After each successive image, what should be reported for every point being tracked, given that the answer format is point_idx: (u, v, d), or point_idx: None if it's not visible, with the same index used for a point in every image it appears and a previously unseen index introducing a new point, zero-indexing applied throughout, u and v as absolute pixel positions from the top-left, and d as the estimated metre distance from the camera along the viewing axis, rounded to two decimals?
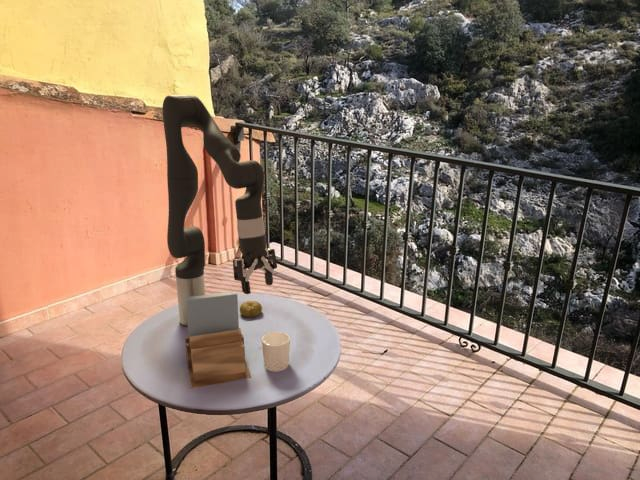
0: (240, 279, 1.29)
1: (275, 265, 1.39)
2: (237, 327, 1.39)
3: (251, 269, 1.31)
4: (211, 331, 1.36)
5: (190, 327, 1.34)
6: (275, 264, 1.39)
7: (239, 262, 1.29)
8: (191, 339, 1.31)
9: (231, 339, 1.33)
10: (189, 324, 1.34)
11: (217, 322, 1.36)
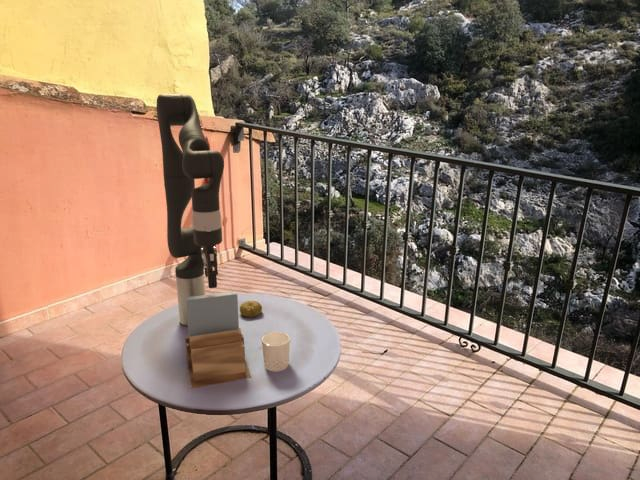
0: (217, 273, 1.26)
1: None
2: (237, 327, 1.39)
3: None
4: (211, 331, 1.36)
5: (190, 327, 1.34)
6: None
7: (216, 255, 1.25)
8: (191, 339, 1.31)
9: (231, 339, 1.33)
10: (189, 324, 1.34)
11: (217, 322, 1.36)
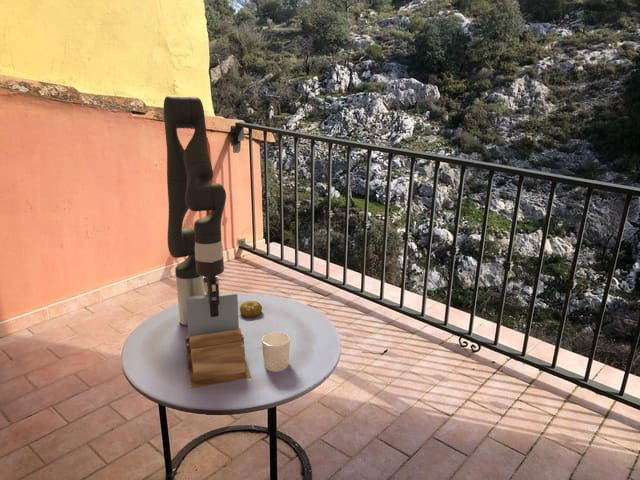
0: None
1: None
2: (237, 327, 1.39)
3: None
4: (211, 331, 1.36)
5: (190, 327, 1.34)
6: None
7: (218, 286, 1.27)
8: (191, 339, 1.31)
9: (231, 339, 1.33)
10: (189, 324, 1.34)
11: (217, 322, 1.36)
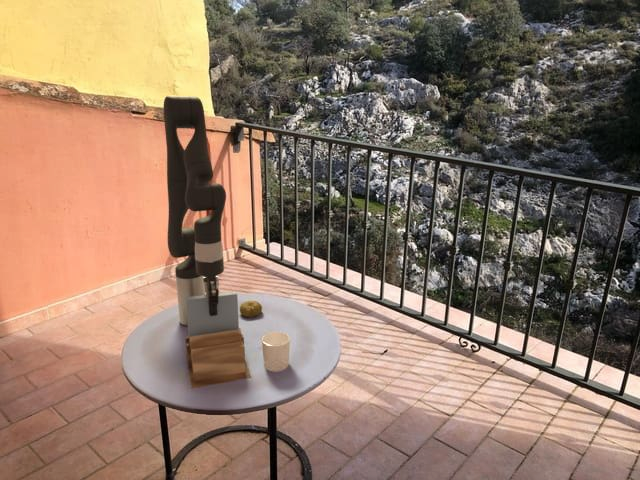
0: (217, 302, 1.32)
1: None
2: (237, 327, 1.39)
3: None
4: (211, 331, 1.37)
5: (190, 327, 1.34)
6: None
7: (218, 292, 1.28)
8: (191, 339, 1.31)
9: (231, 339, 1.33)
10: (189, 324, 1.34)
11: (217, 322, 1.36)
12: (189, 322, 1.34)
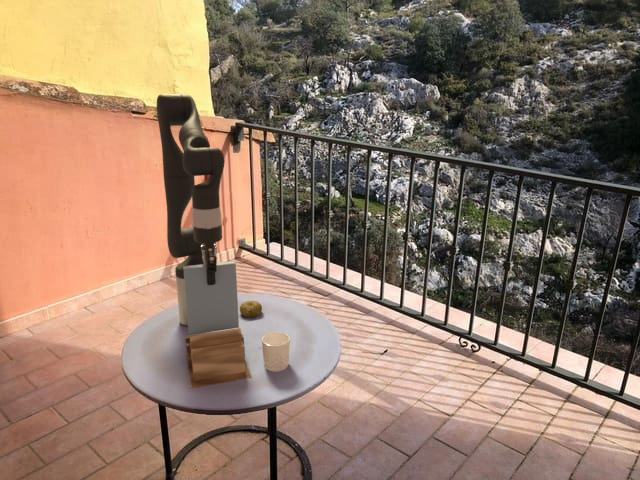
0: None
1: None
2: (236, 298, 1.36)
3: None
4: (209, 301, 1.34)
5: (188, 297, 1.31)
6: None
7: (216, 259, 1.25)
8: (191, 339, 1.31)
9: (231, 339, 1.33)
10: (186, 294, 1.31)
11: (215, 292, 1.34)
12: (187, 292, 1.31)
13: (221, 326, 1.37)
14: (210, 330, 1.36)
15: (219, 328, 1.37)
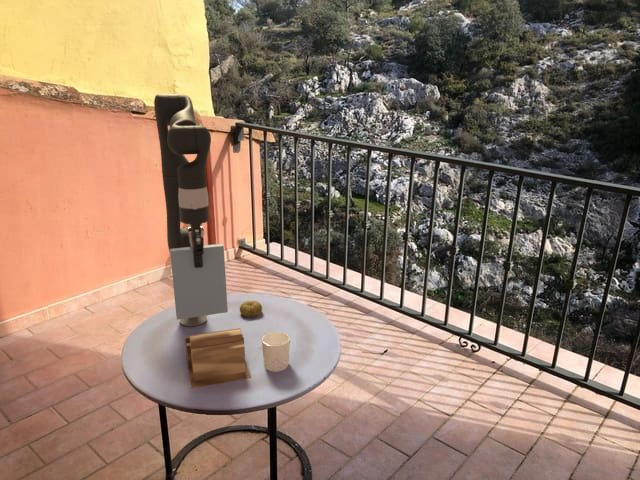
0: None
1: None
2: (224, 281, 1.33)
3: (203, 241, 1.27)
4: (197, 285, 1.31)
5: (175, 280, 1.29)
6: None
7: (203, 240, 1.23)
8: (191, 339, 1.31)
9: (231, 339, 1.33)
10: (173, 277, 1.28)
11: (203, 275, 1.31)
12: (173, 275, 1.28)
13: (209, 310, 1.34)
14: (198, 315, 1.34)
15: (207, 313, 1.34)
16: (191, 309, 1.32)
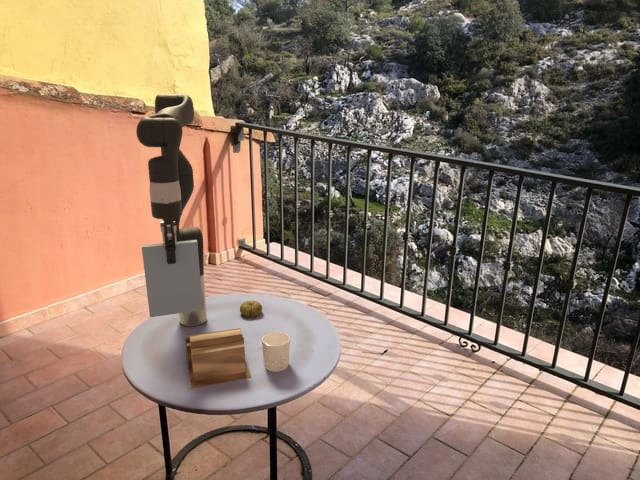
0: None
1: None
2: (198, 278, 1.30)
3: (176, 236, 1.24)
4: (170, 282, 1.28)
5: (147, 277, 1.26)
6: None
7: (174, 235, 1.20)
8: (191, 339, 1.31)
9: (231, 339, 1.33)
10: (146, 274, 1.25)
11: (176, 272, 1.28)
12: (146, 272, 1.25)
13: (183, 308, 1.31)
14: (172, 312, 1.31)
15: (182, 310, 1.31)
16: (165, 307, 1.29)
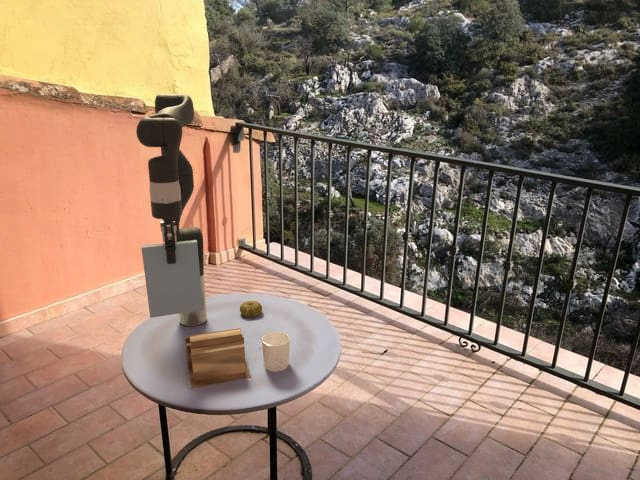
0: None
1: None
2: (198, 279, 1.30)
3: (176, 236, 1.24)
4: (170, 282, 1.28)
5: (147, 277, 1.26)
6: None
7: (174, 235, 1.20)
8: (191, 339, 1.31)
9: (231, 339, 1.33)
10: (146, 274, 1.25)
11: (176, 273, 1.28)
12: (145, 272, 1.25)
13: (184, 308, 1.31)
14: (172, 313, 1.31)
15: (182, 311, 1.31)
16: (165, 307, 1.30)
